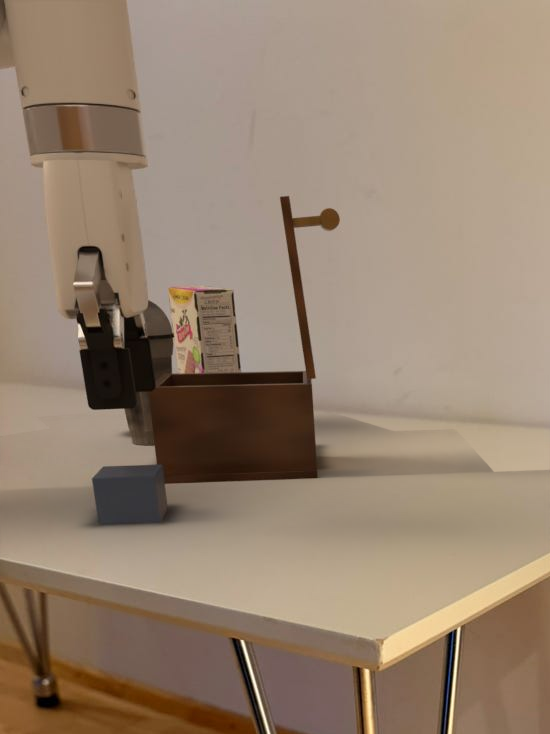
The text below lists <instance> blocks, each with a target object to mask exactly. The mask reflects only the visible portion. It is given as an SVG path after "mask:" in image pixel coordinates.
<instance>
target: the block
mask: <svg viewBox="0 0 550 734" xmlns="http://www.w3.org/2000/svg"><path fill="white" fill-rule="evenodd" d="M91 482H92V488H93V489H92V490H93V496H94V502H95V503H94V504H95V508H96V510H95V511H96V516H97V523H98V526H109V525H110V526H111V525H113V526H114V525H132V524H133V525H135V524H157V523H158V524H159V523H161V522H162V521H163V518H164V517H165V515H166V513H167V511H168V509H169V508H168V499H167V492H166V491H167V490H166V484H165V482H164V474H163V465H157V464H144V465H143V464H139V465H138V464H135V465H134V464H133V465H108V466H107V465H106V466H102V467H101V468H100V469H99V470H98V471H97V472H96V474H94V476H93V477H91Z"/></svg>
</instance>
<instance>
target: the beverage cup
mask: <svg viewBox="0 0 550 734" xmlns="http://www.w3.org/2000/svg"><path fill="white" fill-rule="evenodd" d="M143 315H144V319H145V323H146V327H147V338H149V339H150V346H151V354H152V361H153V369H154V376H155V381H156V380H158V379H159V378H160V377H161V376H162V375H163V374H173V359H172V358H173V357H172V356H173V354H174V334H173V326H172V323H171V322H170V319H169V318H168V316H167V314H166V312H165V311H164V310H163V309H162V308H161V307H160V306H159V305H158V304H156V303H154V302H153V301H151V300H149V299H148V307H147V308H146V309H145V310H144V311H143ZM136 397H137V405H136V406H135V407H134V408H129V409H123V410H124V414H125V419H126V423H127V427H128V428H127V429H128V430H129V434H130V437H131V442H132V444H133V445H138V446H155V445H154V437H153V429H152V420H151V412H150V404H149V396H148V392H136Z"/></svg>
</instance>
